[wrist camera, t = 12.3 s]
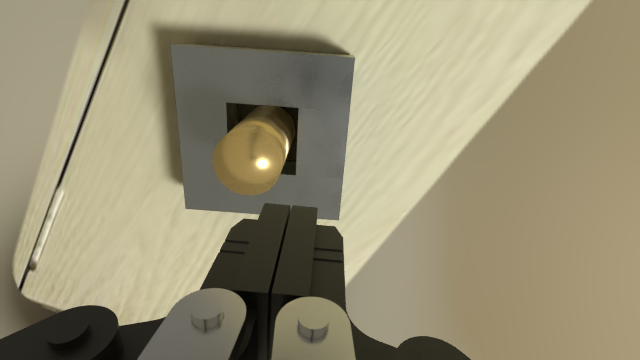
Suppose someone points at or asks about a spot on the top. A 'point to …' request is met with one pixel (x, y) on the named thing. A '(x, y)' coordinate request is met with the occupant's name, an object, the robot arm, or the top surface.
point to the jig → (272, 90)
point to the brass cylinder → (254, 151)
